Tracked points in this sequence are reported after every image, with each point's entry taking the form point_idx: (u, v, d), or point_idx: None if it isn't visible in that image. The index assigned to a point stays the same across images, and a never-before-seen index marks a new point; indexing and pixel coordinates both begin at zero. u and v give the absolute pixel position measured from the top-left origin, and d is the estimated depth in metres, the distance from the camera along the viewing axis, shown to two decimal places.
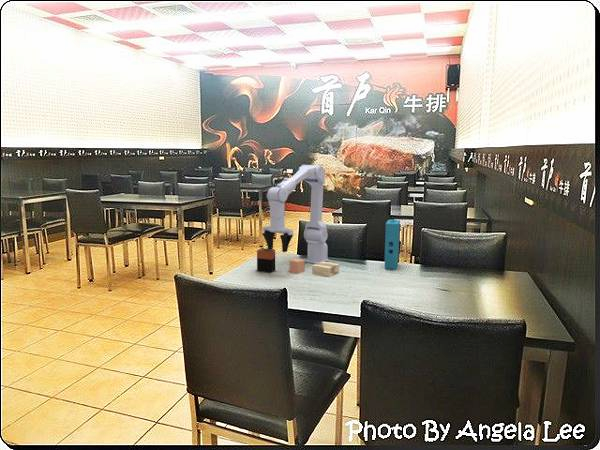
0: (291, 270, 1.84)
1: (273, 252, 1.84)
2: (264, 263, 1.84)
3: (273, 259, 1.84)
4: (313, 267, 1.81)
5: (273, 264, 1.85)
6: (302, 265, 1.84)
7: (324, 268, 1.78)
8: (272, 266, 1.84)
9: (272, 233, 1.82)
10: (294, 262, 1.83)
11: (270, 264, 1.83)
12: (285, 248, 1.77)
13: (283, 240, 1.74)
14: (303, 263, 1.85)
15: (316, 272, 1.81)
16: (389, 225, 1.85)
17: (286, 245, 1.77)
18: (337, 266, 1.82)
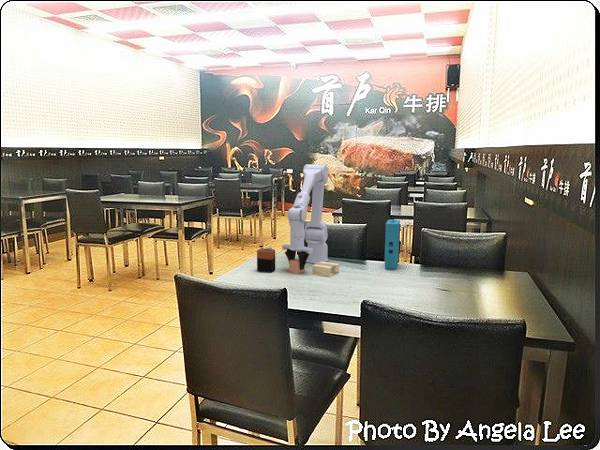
0: (291, 270, 1.84)
1: (273, 252, 1.84)
2: (264, 263, 1.84)
3: (273, 259, 1.84)
4: (313, 267, 1.81)
5: (273, 264, 1.85)
6: None
7: (324, 268, 1.78)
8: (272, 266, 1.84)
9: (294, 252, 1.87)
10: (294, 262, 1.83)
11: (270, 264, 1.83)
12: (302, 266, 1.83)
13: (300, 258, 1.81)
14: None
15: (316, 272, 1.80)
16: (389, 225, 1.85)
17: (303, 263, 1.83)
18: (337, 266, 1.82)
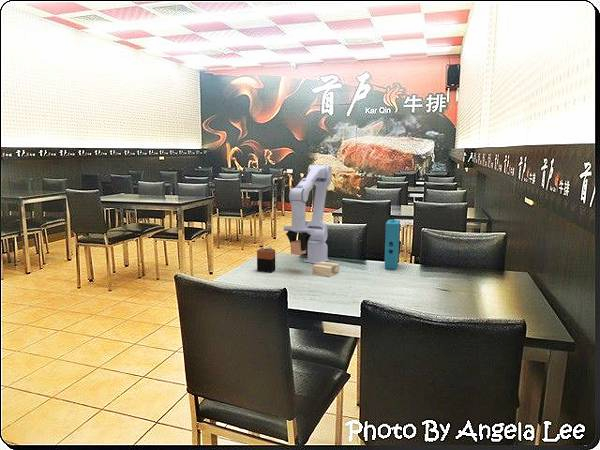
0: (292, 251, 1.83)
1: (273, 252, 1.84)
2: (264, 263, 1.84)
3: (273, 259, 1.84)
4: (313, 267, 1.81)
5: (273, 264, 1.85)
6: None
7: (325, 268, 1.78)
8: (272, 266, 1.84)
9: (295, 233, 1.85)
10: (295, 243, 1.81)
11: (270, 264, 1.83)
12: (304, 247, 1.82)
13: (302, 239, 1.79)
14: None
15: (317, 272, 1.80)
16: (389, 225, 1.85)
17: (305, 244, 1.82)
18: (337, 266, 1.82)
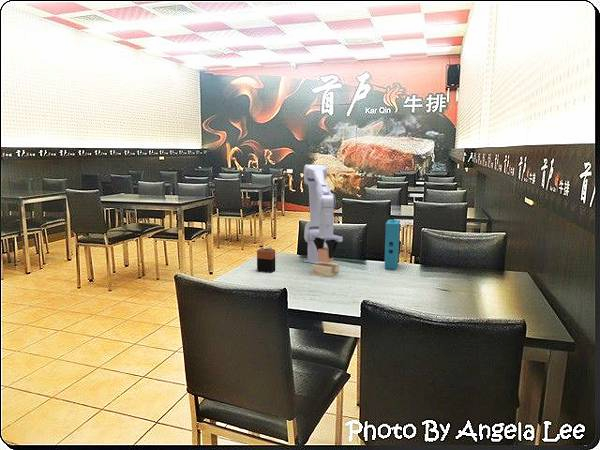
0: (320, 259, 1.81)
1: (273, 252, 1.84)
2: (264, 263, 1.84)
3: (273, 259, 1.84)
4: (313, 267, 1.81)
5: (273, 264, 1.85)
6: None
7: (325, 268, 1.78)
8: (272, 266, 1.84)
9: (322, 240, 1.83)
10: (323, 251, 1.79)
11: (270, 264, 1.83)
12: (331, 254, 1.80)
13: (330, 246, 1.77)
14: None
15: (317, 272, 1.80)
16: (389, 225, 1.85)
17: (332, 251, 1.80)
18: (337, 266, 1.83)
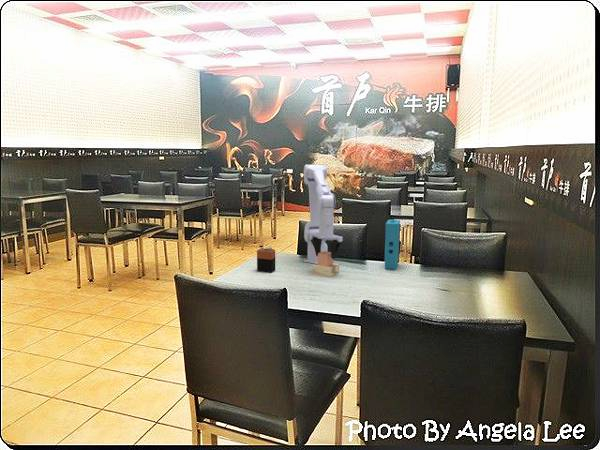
0: (319, 263, 1.81)
1: (273, 252, 1.84)
2: (264, 263, 1.84)
3: (273, 259, 1.84)
4: (313, 267, 1.81)
5: (273, 264, 1.85)
6: (331, 258, 1.81)
7: (325, 268, 1.78)
8: (272, 266, 1.84)
9: (320, 240, 1.84)
10: (322, 255, 1.80)
11: (270, 264, 1.83)
12: (334, 255, 1.79)
13: (333, 247, 1.76)
14: None
15: (317, 272, 1.80)
16: (389, 225, 1.85)
17: (335, 252, 1.79)
18: (337, 266, 1.83)
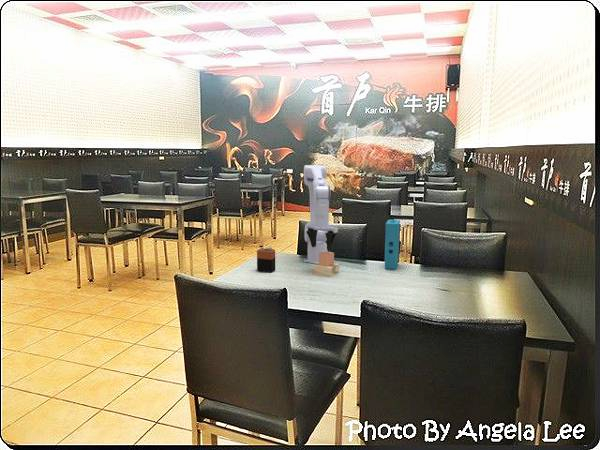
0: (320, 263, 1.81)
1: (273, 252, 1.84)
2: (264, 263, 1.84)
3: (273, 259, 1.84)
4: (314, 267, 1.81)
5: (273, 264, 1.85)
6: (331, 258, 1.81)
7: (325, 268, 1.78)
8: (272, 266, 1.84)
9: (315, 231, 1.85)
10: (323, 255, 1.80)
11: (270, 264, 1.83)
12: (329, 246, 1.80)
13: (328, 238, 1.77)
14: (332, 256, 1.81)
15: (317, 272, 1.80)
16: (389, 225, 1.85)
17: (330, 243, 1.80)
18: (337, 266, 1.83)
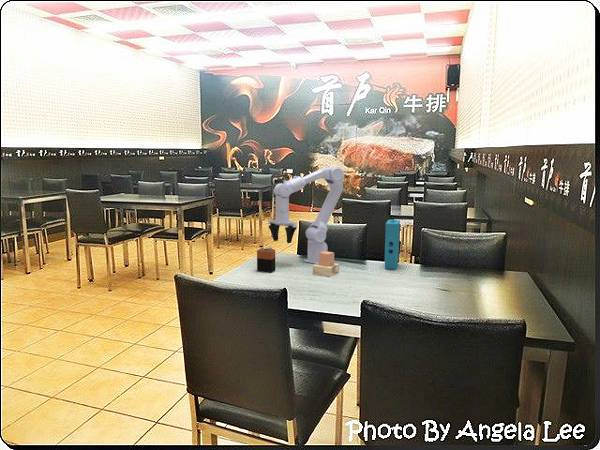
0: (320, 263, 1.81)
1: (273, 252, 1.84)
2: (264, 263, 1.84)
3: (273, 259, 1.84)
4: (314, 267, 1.81)
5: (273, 264, 1.85)
6: (332, 258, 1.81)
7: (325, 268, 1.78)
8: (272, 266, 1.84)
9: (277, 226, 1.97)
10: (323, 254, 1.80)
11: (270, 264, 1.83)
12: (289, 239, 1.92)
13: (288, 232, 1.90)
14: (333, 256, 1.81)
15: (317, 272, 1.80)
16: (389, 225, 1.85)
17: (290, 237, 1.92)
18: (337, 266, 1.83)
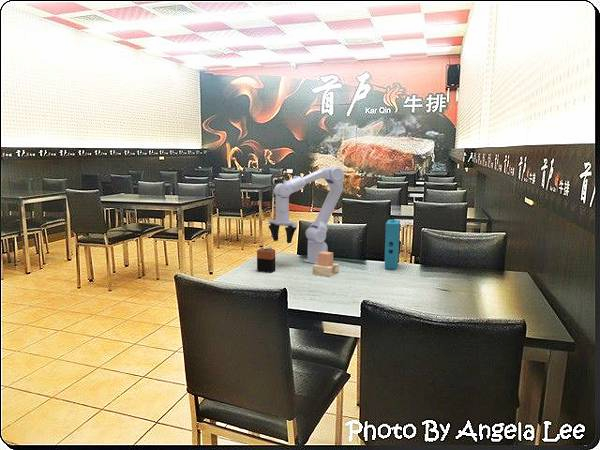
0: (319, 263, 1.81)
1: (273, 252, 1.84)
2: (264, 263, 1.84)
3: (273, 259, 1.84)
4: (313, 267, 1.81)
5: (273, 264, 1.85)
6: (331, 258, 1.81)
7: (325, 268, 1.78)
8: (272, 266, 1.84)
9: (277, 226, 1.97)
10: (323, 255, 1.80)
11: (270, 264, 1.83)
12: (289, 239, 1.92)
13: (288, 232, 1.90)
14: (332, 256, 1.82)
15: (317, 272, 1.80)
16: (389, 225, 1.85)
17: (290, 237, 1.92)
18: (337, 266, 1.83)
